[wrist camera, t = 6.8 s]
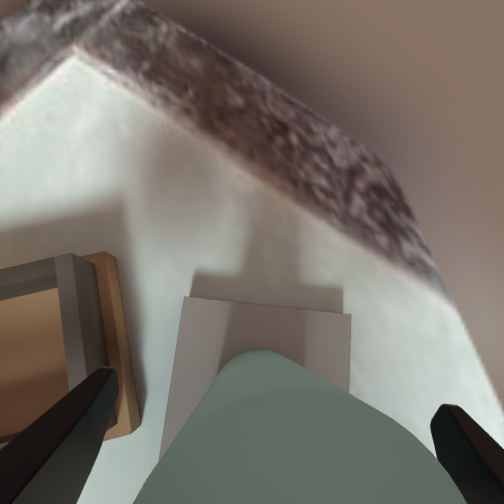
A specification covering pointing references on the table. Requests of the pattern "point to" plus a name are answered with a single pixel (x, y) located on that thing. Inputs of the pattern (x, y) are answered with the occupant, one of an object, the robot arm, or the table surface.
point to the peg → (292, 445)
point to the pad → (249, 337)
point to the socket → (61, 338)
